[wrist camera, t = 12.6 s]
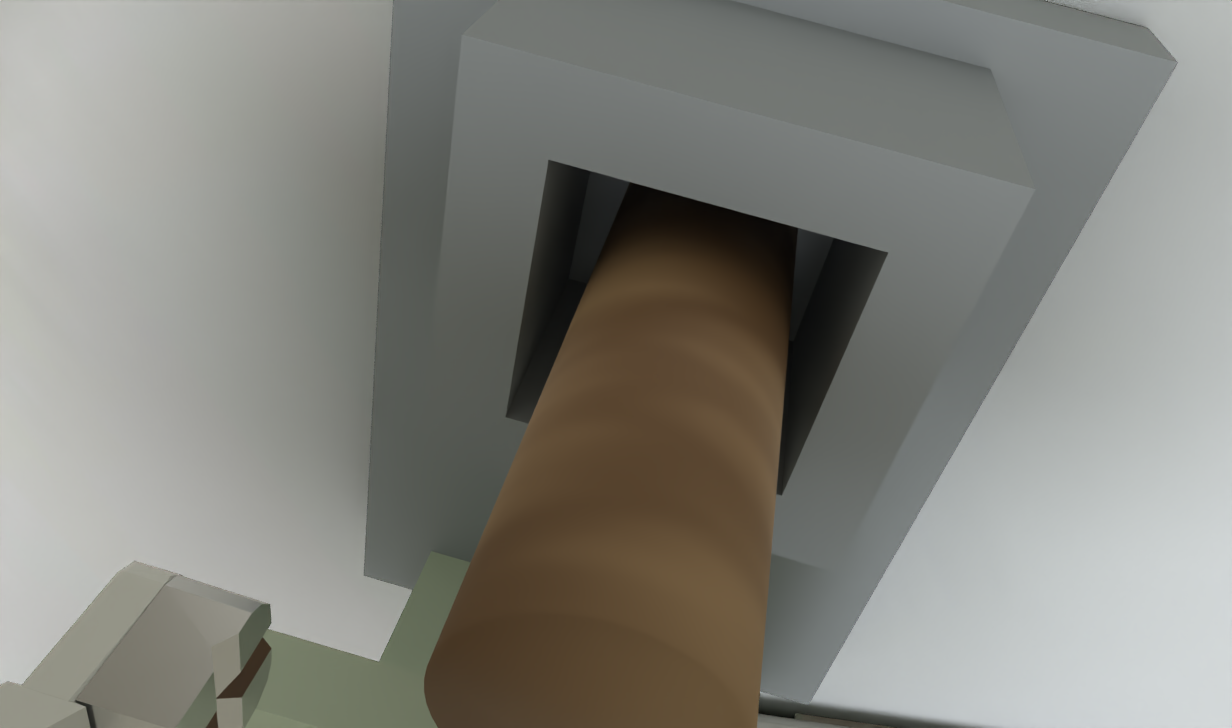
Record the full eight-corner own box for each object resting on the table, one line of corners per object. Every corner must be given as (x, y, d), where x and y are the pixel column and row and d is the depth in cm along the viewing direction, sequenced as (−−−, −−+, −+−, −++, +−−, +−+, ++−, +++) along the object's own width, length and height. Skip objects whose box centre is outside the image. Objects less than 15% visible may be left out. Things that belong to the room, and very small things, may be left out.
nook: (810, 650, 30) (795, 1077, 21) (388, 528, 30) (194, 893, 21) (1148, 28, 18) (1468, 396, 9) (439, -158, 18) (37, 5, 9)
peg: (823, 159, 18) (801, 677, 9) (769, 308, 21) (706, 850, 11) (645, 111, 19) (437, 571, 9) (610, 264, 21) (413, 763, 11)
